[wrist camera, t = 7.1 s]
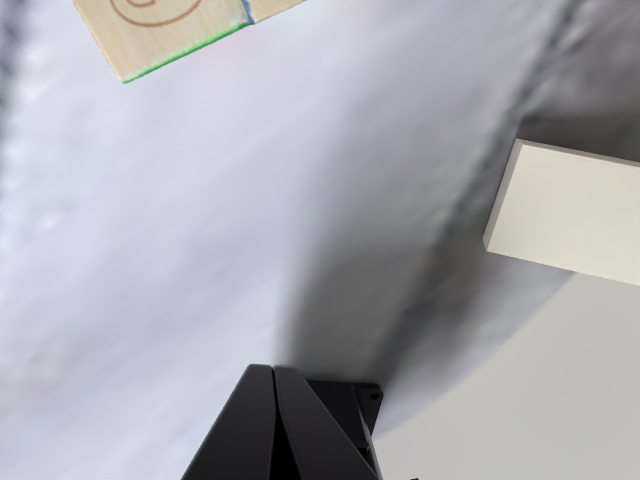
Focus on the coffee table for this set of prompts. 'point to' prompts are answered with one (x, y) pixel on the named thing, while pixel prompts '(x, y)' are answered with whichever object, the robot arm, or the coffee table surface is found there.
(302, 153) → the coffee table surface
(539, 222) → the domino
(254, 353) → the coffee table surface
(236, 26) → the stack of blocks
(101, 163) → the coffee table surface
